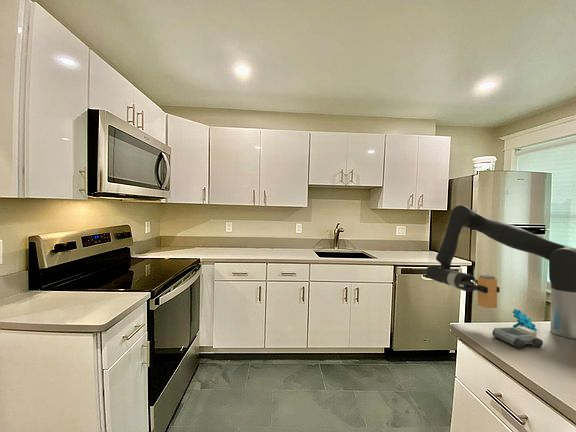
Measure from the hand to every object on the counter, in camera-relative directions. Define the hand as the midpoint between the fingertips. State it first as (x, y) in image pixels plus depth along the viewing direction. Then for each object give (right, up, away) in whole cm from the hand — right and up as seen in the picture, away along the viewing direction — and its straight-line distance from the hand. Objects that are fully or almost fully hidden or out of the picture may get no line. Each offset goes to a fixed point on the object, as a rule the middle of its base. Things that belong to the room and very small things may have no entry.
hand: (492, 290), depth 114 cm
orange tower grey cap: (0, -7, +3) cm, 8 cm away
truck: (+2, -16, -9) cm, 19 cm away
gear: (+15, -17, +3) cm, 22 cm away
